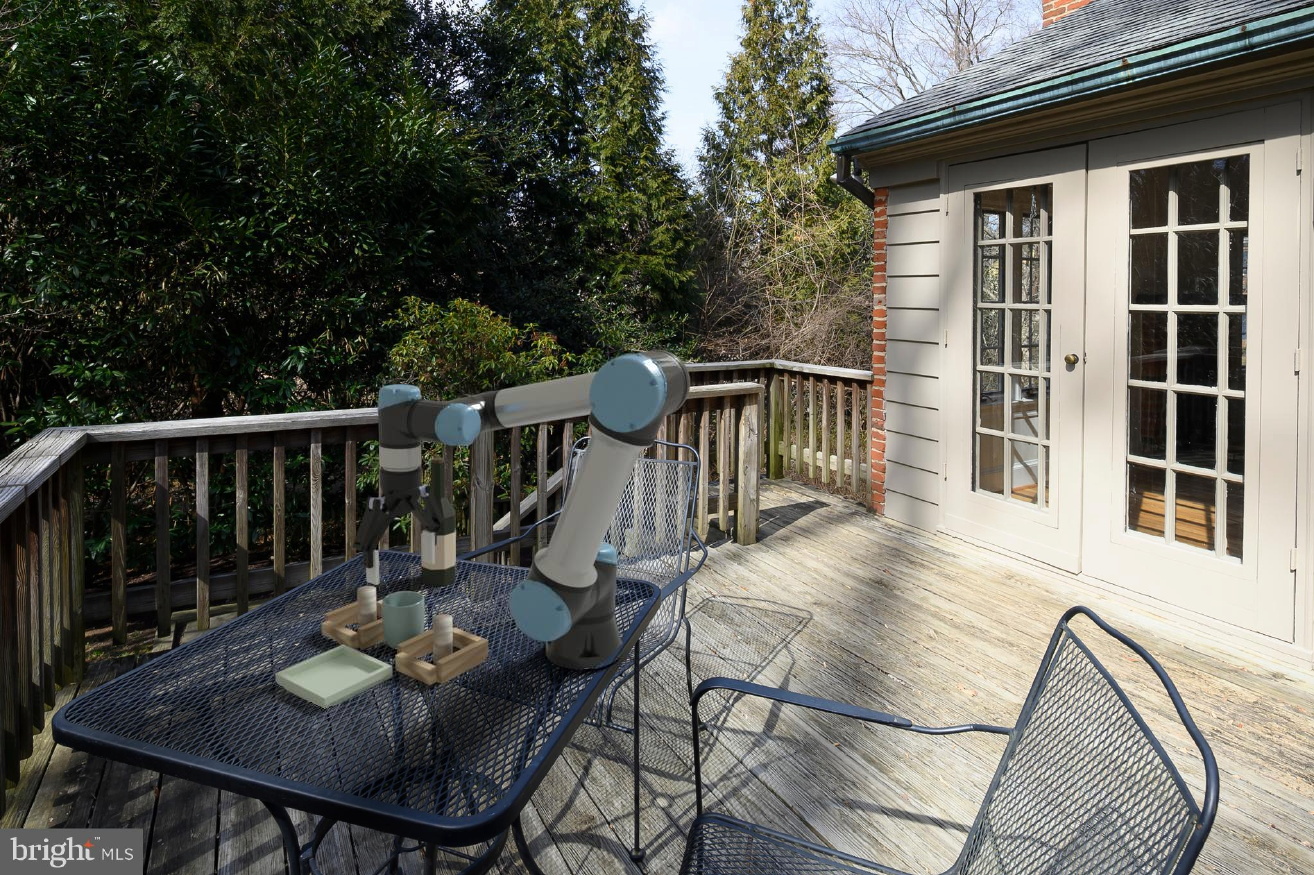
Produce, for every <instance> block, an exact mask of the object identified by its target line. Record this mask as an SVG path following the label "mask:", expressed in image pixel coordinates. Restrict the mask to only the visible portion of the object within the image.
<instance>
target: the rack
mask: <svg viewBox="0 0 1314 875" xmlns="http://www.w3.org/2000/svg"><path fill="white" fill-rule="evenodd" d="M356 594H357V600H356V601H354V602H352V603H350V604H347V605H344V606H342V607H339V608H337V609H334V610H331V611H328V612H326V613H324V614H323V618H324V619H323V620H324V622H322V623H321V636H322V635H324V636H328V637H329V638H332V639H333V640H335V641H337V642H338V643H339V644H340V645H339V644H338V645H339V646H341V645H343V644H344V645H346V646H348V647H350V648H353V649H355V650H357V649H358V648H359V649H362V650H365V649H367V648H369V647H371V646H374V645H376V644H378V643H380V642H383V641H385V638H384V633H383V625H382V600H383V599H380V600H378V601H377V587H375V586H373V585H366V586H365V585H364V586H360V587H358V588H357V590H356ZM378 617H380V619H378ZM453 618H454V617H453V616H452V615H450V614H445V613H444V614H442V613H441V614H437V615H434V617H433V618H432V628H431V629H430V630H427V631H425V632H423V633H422V634H420V635H418V636H416V637H414V638H411V639H409V640H407V641H405V642H403V643H400V644H398V645H397V650H396V652H397V653H396V654H395V671H397V672H399V673H402V674H403V675H406V676H409V677H411V678H412V679H415V680H418V681H420V682H422V681H423V682H422V683H424V684H426V685H428V686H432V685H433V684H435V683H439V684H441V685H443V684H445V683H447V682H449V681H452V680H453V679H454V678H456V677H458V676H460V675H461V674H464V673H465V672H467V671H469V670H471V669H473V668H474V667H476V666H478V665H480V664H482V663H484V662H486V661H485V659H486V658H487V657H488V658H489V656H488V655H489V640H488V639H486V638H483V637H480V636H479V635H475V634H473V633H470V632H467V631H465V630H462V629H460V628H458V627H453V620H454V619H453ZM353 623H355V624H357V625H358V628H357V631H354V630H352V629H350V628H348V627H346V628H345V627H344V626H346V625H350V626H352V625H351V624H353ZM353 625H354V624H353ZM453 647H454V648H455V647H456V648H458V650H457V651H455V652H453V651H454V650H453V649H454V648H453ZM431 652H432V653H431ZM429 653H430V654H432V655H433V657H432V658H433V659H432V660H433V661H432V662H433V664H432V663H429V662H427V661H424V660H422V659H421V658H419V659H418V658H415V657H420V656H423V655H425V654H427V655H429ZM425 656H426V655H425ZM423 657H424V656H423Z"/></svg>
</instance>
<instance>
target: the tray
mask: <svg viewBox="0 0 1314 875" xmlns="http://www.w3.org/2000/svg"><path fill="white" fill-rule="evenodd" d="M274 674H275V677H274V678H275V683H276V682H277V683H278V684H280V685H281V686H283V687H284V688H285V689H286V691H288V692H289V693H291V694H293V695H295V696H296V697H299V698H301V699H303V700H304V701H306V700H307V701H306V702H308V703H310V702H312V703H313V704H312V703H311V704H312V705H314V704H316V705H318V706H321V707H322V708H324V709H325V708H328V707H329V706H333V707H334V706H337V705H339V704H341V703H344V701H347V700H350V699H351V698H353V697H355V696H358V695H360V694H361V693H363V692H365V691H367V690H369V689H371V688H373V687H375V686H377V685H379V684H381V683H384V682H385V681H387V680H389V679H392V678H393V665H390V664H389V663H387V662H384V661H382V660H379V659H377V658H375V657H372V656H371V655H368V654H366V653H364V652H361V651H359V650H357V649H353V648H350V647H348V646H346V645H344V644H343V645H338V646H336V647H334V648H332V649H329V650H327V651H324V652H322V653H320V654H317V655H315V656H313V657H310V658H308V659H306V660H303V661H301V662H298V663H297V664H294V665H291V666H289V667H287V668H285V669H283V670H279V671H278V672H275V673H274ZM285 689H284V690H285ZM316 705H315V706H316ZM318 706H317V707H318ZM322 708H321V709H322ZM324 709H323V710H324Z"/></svg>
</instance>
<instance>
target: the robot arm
mask: <svg viewBox="0 0 1314 875" xmlns="http://www.w3.org/2000/svg"><path fill="white" fill-rule="evenodd" d="M690 389H691V377H690V372H689V370H688V368H687V366H686V365H685V363H684V362H683V361H682V360H681V358H680V357H678V356H677V355H675V354H674V353H673V352H671V351H670V352H669V351H667V350H662V349H651V350H646V351H641V352H637V353H625V354H622V355H619V356H617V357H615V358H613V359H611V360H610V361H607V362H606V363H604V364H603V365H602V366H601V367H600V368H599V369H598V370H597V371H594V372H589V373H583V374H578V375H574V376H573V375H571V376H566V377H562V378H556V379H552V380H545V381H542V382H541V381H540V382H535V383H529V384H526V385H519V386H515V387H508V388H504V389H500V390H494V391H493V390H488V391H484V392H481V393H479V394H474V395H470V396H469V395H468V396H464V397H459V398H456V399H451V400H447V401H437V400H429V399H424V398H422V395H421V389H420V388H419V387H418V386H415V385H412V384H390V385H384V386H382V387H381V388H380V389H379V391H378V401H377V402H378V404H377V416H378V436H379V440H378V441H379V442H378V448H379V449H378V450H379V451H378V452H379V453H378V454H379V456H378V457H379V458H378V459H379V466H381V467H380V469H379V486H380V489H381V495H380V496H379V497H372V496H368V497H367V499H366V506H365V511H364V514H363V516H362V520H361V522H360V524H359V528H358V530H357V534H356V535H355V538H354V541H353V544H352V548H353V550H357V551H360V552H362V565H363V567H364V568H365V572H366V573H365V574H366V575H365V576H366V577H365V578H366V580H365V581H366V583H368V584H369V583H370V584H373V585H375V586H377V585H379V584H380V563H379V562H380V560H379V559H380V557H379V555H380V553H379V550H376V549H377V546H378V545H379V543H380V542H381V540H382V538H383V537H384V535H385V533H386V531H387V530H388V527H389V526H390V524H391V523H392V522H394V520H395V519H396V518H397V517H402V516H403V515H404V514H407V515H409V514H411V513H412V514H413V516H414V517H416V519H417V520H418V521H419V522H420V524H421V523H422V524H423V525H424V526H425V528H426V529H427V530H423V561H424V562H426V563H429V564H435V546H436V544H437V532H440V531H441V526H444V525H445V520H444V518H443V516H442V514H441V511H440V509H439V507H438V505H437V503H436V500H435V498H434V496H433V488H432V486H431V484H430V485H429V484H426V483H422V468H421V467H420V466H421V465H422V446H421V444H422V441H425V442H432V443H437V444H443V445H447V446H450V447H454V446H460V447H466V446H470V445H472V444H473V443H474V441H475V440H476V439H477V438H478V436H479V435H480V434H483V433H486V432H490V431H497V430H502V429H507V428H514V427H520V426H527V425H533V424H538V423H543V422H551V421H558V420H564V419H569V418H576V417H582V416H583V417H584V416H588V415H589V416H588V418H587V422H588V424H589V426H590V429H591V430H592V434H591V435H590V438H589V440H588V443H587V446H586V448H585V451H584V454H583V456H582V459H581V461H580V462H579V463H580V464H579V467H578V469H577V471H576V474H575V477H574V480H573V481H572V485H571V487H570V489H569V492H568V495H567V496H566V497H567V498H566V500H565V502H564V505H563V506H562V507H563V508H562V510H561V512H560V515H559V517H558V520H557V523H556V526H555V528H554V530H553V533H552V534H551V538H550V540H549V542H548V543H549V544H548V545H547V547H544V548H541V549H539V550H538V551H537V552H536V554H535V555H534V558H533V561H532V563H531V566H530V569H529V571H528V574H527V576H526V577H525V579H524V580H522V581H520V582H519V583H518V584H517V585H516V586H515V587H514V588H513V590H512V591H511V593H510V596H509V602H508V605H509V607H508V608H509V611H510V616H511V617H512V618H513V619H514V623H515V625H516V626H517V628H518V629H519V630H520V631H521V632H522V633H523V634H525V635H526V636H527V637H529V638H531V639H533V640H536V641H538V642H543V643H544V642H545V654H546V657H547V658H548V660H549V661H550V662H551V663H553V665H556V666H559V667H561V668H564V667H565V669H567V668H569V669H568V670H572V669H575V670H574V671H580V670H579V669H584V668H592V667H595V666H597V665H600V664H601V663H603V662H604V661H606V660H607V659H609V657H611V656H612V655H613V654H614V653H615V652H616V650H618V648H619V647H620V645H621V644H622V645H623V641H622V638H621V635H620V632H619V629H618V628H619V627H618V624H617V621H616V614H615V610H616V589H617V571H618V565H619V564H618V559H617V554H618V553H617V549H616V548H615V546H614V545H612V544H610V543H608V542H605V541H604V539H605V536H606V535H607V533H608V530H609V527H610V525H611V523H612V520H613V518H614V516H615V513H616V511H617V508H618V506H619V504H620V501H621V499H622V496H623V494H624V492H625V490H626V487H627V484H628V481H629V479H630V477H631V474H632V473H633V470H634V468H635V465H636V464H637V463H636V462H637V461H638V458H639V455H640V453H641V451H642V450H645V449H649V448H651V447H652V446H653V445H654V443H655V440H656V439H657V438H656V437H657V436H658V434H659V431H660V429H661V427H662V423H663V422H664V419H665V417H667V416H670V415H671V414H673V413H675V412H677V411H678V410H679V409H680V408H681V407H682V406H683V405H684V403H685V402H686V400H687V398H688V396H689V394H690ZM419 498H421V501H422V502H423V505H424V506H423V505H422V504H421V503H420V502H419ZM424 507H426V509H427V512H428V514H429V515H428V514H427V513H426V512H425V511H424V510H423V509H424Z"/></svg>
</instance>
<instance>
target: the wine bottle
mask: <svg viewBox="0 0 1314 875" xmlns="http://www.w3.org/2000/svg"><path fill="white" fill-rule="evenodd" d="M430 486H432V488H433V496H434V498H435V500H436V503H437V505H438V507H439V509H440V511H441V514H442V516H443V518H444V520H445V525H444V526H441V531H440V532H437V544H436V546H435V564H429V563H426V562H424V561H423V530H427V529H426V528H425V526H424V525H423V524H422V523H421V522H420V550H421V551H420V554H421V555H420V556H421V562H420V564H421V584H424V585H426V586H429V587H446V586H448V585H450V584H451V585H452V584H454V583H455V582H456V579H455V576H456V575H457V571H456V570H457V569H456V568H457V566H456V565H457V561H456V560H457V557H456V554H457V552H456V551H457V548H456V544H457V543H456V540H457V539H456V537H457V536H456V527H457V526H456V509H455V508H454V507H453V505H452V504H451V502H450V501H449V499H448V497H446V461H444V458H443V457H433V458H432V461H430ZM423 510H424V511H425V512H426V513H427V514H428V512H427V509H426V507H425V506H423ZM428 515H429V514H428ZM456 577H457V576H456ZM454 581H455V582H454Z"/></svg>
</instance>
